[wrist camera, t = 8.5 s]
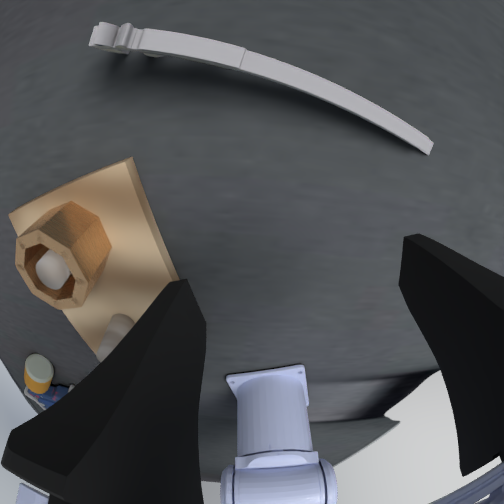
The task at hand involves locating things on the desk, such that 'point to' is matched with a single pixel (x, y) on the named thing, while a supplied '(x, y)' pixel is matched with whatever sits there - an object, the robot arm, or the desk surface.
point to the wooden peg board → (120, 258)
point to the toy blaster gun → (42, 381)
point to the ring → (64, 253)
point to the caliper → (251, 71)
